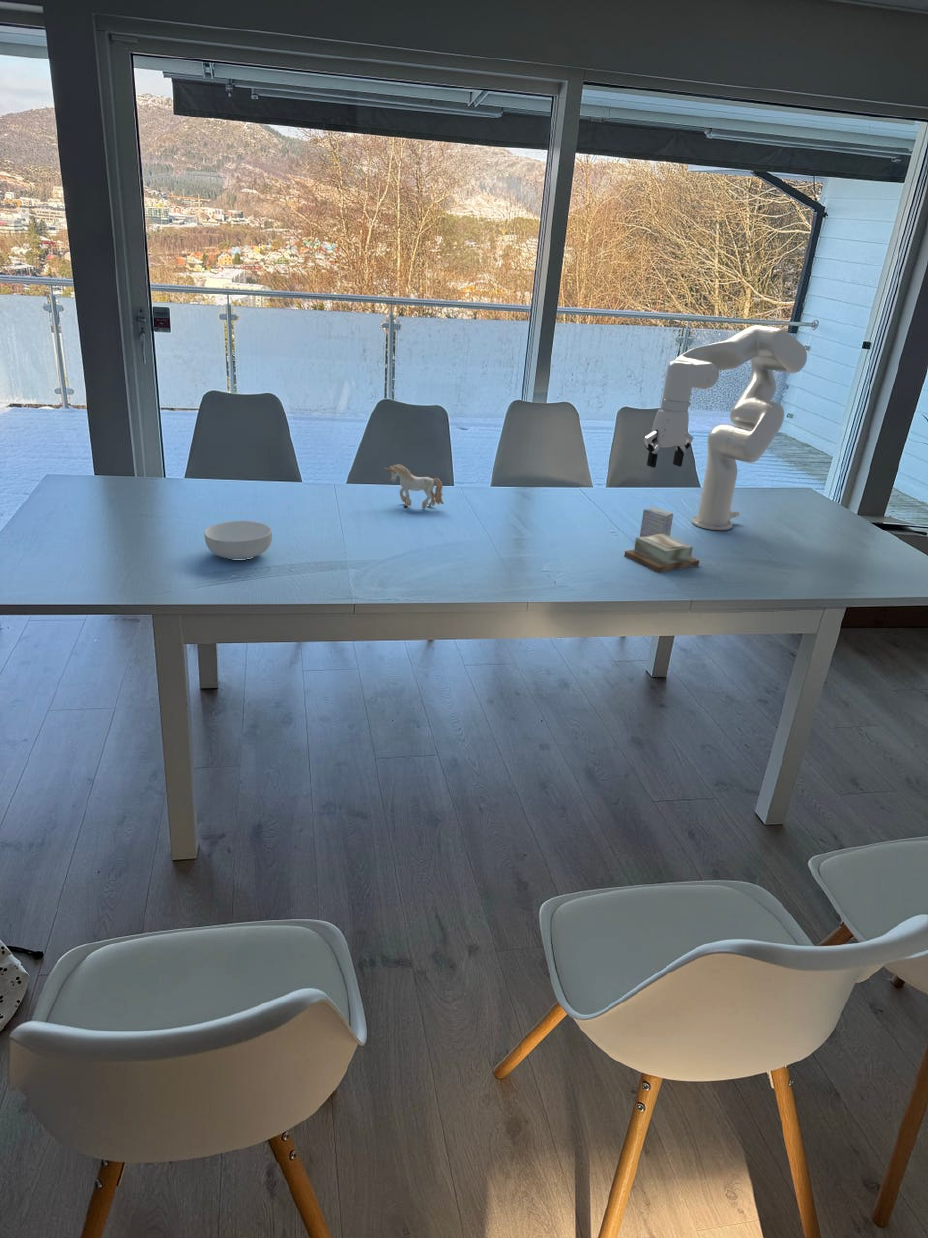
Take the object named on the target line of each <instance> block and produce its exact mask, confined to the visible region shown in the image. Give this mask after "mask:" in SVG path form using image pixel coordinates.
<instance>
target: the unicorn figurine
mask: <svg viewBox="0 0 928 1238" xmlns="http://www.w3.org/2000/svg"><path fill="white" fill-rule="evenodd" d="M383 469H384V470H387V471H388V472H390V474H391V478H390V480H391V481H392V482H393V483H395V482H396V481H397V477H399V479H400V480H399V482H400V483H399V485H400V487H401V489H400V490H399V496H400V500H401V501H402V503H403V502H405V504H404V503H403V507H404V506H408V507H410V506H411V507H412V499H410V493H409V491H413V492H418V491H423V492H424V493H425V495H426V498H425V499H424V500H423V501H422V503H421V507H422V508H424V509H426V507H427V505H429V506H431V505H432V506H431V507H434V506H435V505H436V504H437V505H444V504H445V502H444V501H443V499H442V498H443V497H442V496H443V483H442V481H441V480H440V479H439V478H438V477H436V478H432V477H429V476H420V477H419V476H415V475H414V474H412V472H411V471H410V470H409V469H408V468H407V467H405V466H403V465H402V464H400V463H399V464H394V465H392V466H391V465H389V468H388V467H383ZM434 488H435V491H434ZM429 501H430V502H429Z"/></svg>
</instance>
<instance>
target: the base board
mask: <svg viewBox="0 0 928 1238" xmlns="http://www.w3.org/2000/svg"><path fill="white" fill-rule="evenodd" d="M693 549H694V547H693V546H692V545H690V544H687V543H686V542H682V541H680V540H678V539H676V538H674V537H671V535H670V536H667V535H665V534H656V535H650V536H643V537H640V536H638V537H636V538H635V543H634V549H629V550H624V557H626V558H627V559H628V560H629V559H630V560H632V561H633V562H636V563H638V564H639V565H641V566H643V567H645V568H648V569H649V570H652V571H654V572H655V573H658V574H660V573H666V572H670V571H671V570H672V571H675V570H682V568H683V569H687V568H686V567H688V568H692V567H691V566H694V567H699V566H698V565H700V559H698V558H695V557H693V556H692V552H693Z"/></svg>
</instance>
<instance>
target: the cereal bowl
mask: <svg viewBox="0 0 928 1238" xmlns="http://www.w3.org/2000/svg"><path fill="white" fill-rule="evenodd" d="M203 534H204V541H205V544H206V547H207V548H208V549H209V551H210V552H211V553H213V554H215V555H216V556H217V557H221V558H224V559H226V558H229V559H247V558H251V557H254V556H255V557H257V556H259V555H262V554H263V553H264V552H266V551H267V550H268V549H269V547H270V546H271V544H272V541H273V540H272V538H273V530H272V528H271V527H270V526H269V525H267V524H266V523H265V524H264V523H263V522H262V523H261V522H257V521H249V520H248V521H247V520H234V521H233V520H232V521H225V522H219V523H217V524H213V525H210V526H209V527H207V528H206V529H205V530H204V533H203ZM255 557H254V558H255Z"/></svg>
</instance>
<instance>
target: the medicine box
mask: <svg viewBox="0 0 928 1238" xmlns="http://www.w3.org/2000/svg"><path fill="white" fill-rule="evenodd" d="M642 511H643V512H642V518H641V524H640V532H639V537H643V536H650V535H656V534H665V535H667V536H670V537H671V534H672V533H671V532H672V527H673V526H672V525H673V520H674V519H673V518H674V513H673V512H671V511H666V510H663V509H660V508H655V507H653V506H651V507H647V508H645V509H643V510H642Z"/></svg>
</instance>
